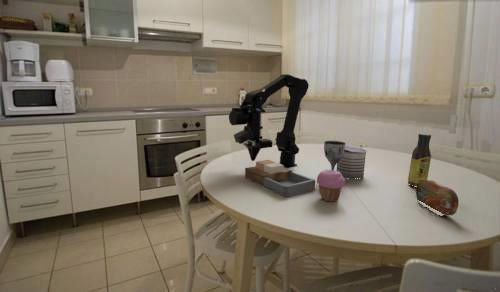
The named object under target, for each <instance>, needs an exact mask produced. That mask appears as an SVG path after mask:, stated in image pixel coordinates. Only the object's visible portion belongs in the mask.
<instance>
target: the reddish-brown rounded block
mask: <svg viewBox="0 0 500 292" xmlns="http://www.w3.org/2000/svg"><path fill="white" fill-rule="evenodd" d="M415 194H416V195H415V196H416V199H417V201H418V200H419V201H421V202H423V203H425V204H426V205H428V206H430V207H431V208H433V209H435V210H437V211H439V212H441V213H442V214H444V215H451V216H453V215H455V214H456V213H457V210H458V207H459V197H458V194H457V193H456V191H454V190H453V189H452V188H450V187H448V186H445V185H443V184H441V183H439V182H436V181H435V180H434V181H433V180H430V179H429V180H428V179H427V180H422V181H420V182H419V184H418V185H417V187H416V189H415Z"/></svg>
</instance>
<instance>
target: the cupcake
mask: <svg viewBox="0 0 500 292" xmlns="http://www.w3.org/2000/svg"><path fill="white" fill-rule="evenodd" d="M316 183H317V184H318V190H319V194H320V197H321V198H322V199H324V201H325V202H338V201H339V199H340V196H341V192H342V188H343V187H344V186H345V185H346V179H345V178H343V176H342V174H341V173H340V172H339V171H336V170H335V169H334V170H331V169H324V170H322V171H320V172H319V173H318V175H317V177H316Z"/></svg>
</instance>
